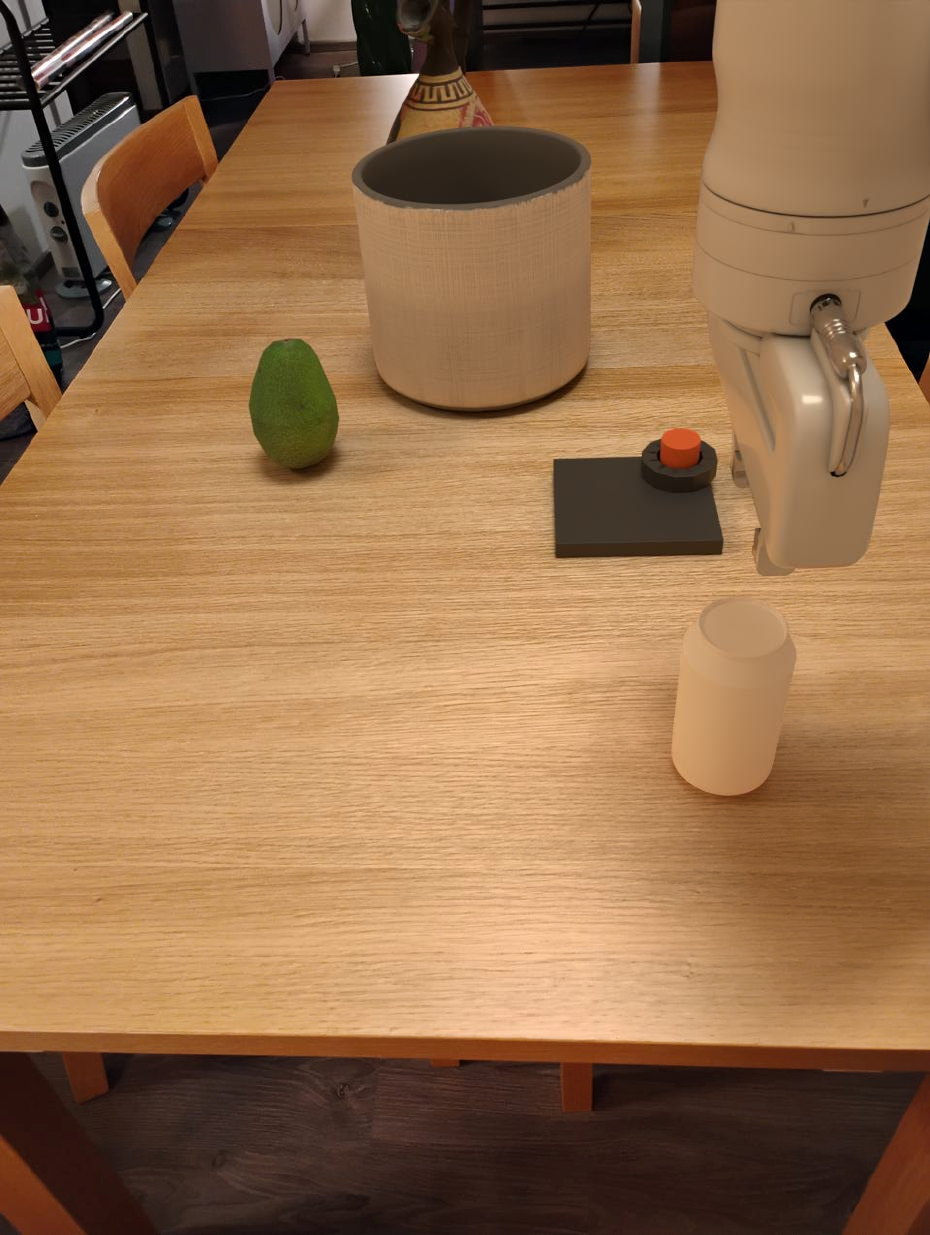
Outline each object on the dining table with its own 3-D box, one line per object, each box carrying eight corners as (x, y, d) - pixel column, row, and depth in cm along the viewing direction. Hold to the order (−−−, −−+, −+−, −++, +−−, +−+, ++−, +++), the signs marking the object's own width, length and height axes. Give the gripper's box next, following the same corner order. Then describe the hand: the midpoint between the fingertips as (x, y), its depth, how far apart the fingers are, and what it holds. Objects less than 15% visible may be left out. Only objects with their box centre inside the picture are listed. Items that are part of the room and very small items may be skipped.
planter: (633, 351, 103) (643, 147, 89) (493, 446, 92) (481, 228, 78) (474, 299, 115) (462, 111, 101) (333, 377, 103) (298, 177, 90)
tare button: (696, 448, 84) (698, 427, 83) (700, 469, 82) (703, 448, 81) (658, 449, 85) (659, 428, 83) (661, 470, 82) (663, 449, 81)
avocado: (363, 457, 92) (344, 337, 84) (295, 495, 88) (268, 373, 80) (310, 428, 96) (287, 310, 88) (243, 463, 92) (213, 343, 84)
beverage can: (650, 752, 64) (662, 614, 56) (725, 713, 66) (748, 574, 58) (713, 820, 60) (736, 681, 52) (792, 776, 62) (826, 636, 54)
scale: (708, 464, 87) (711, 434, 85) (729, 554, 78) (733, 523, 76) (553, 468, 88) (553, 439, 86) (555, 557, 79) (555, 527, 77)
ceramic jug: (470, 280, 119) (450, -12, 98) (365, 259, 125) (327, -18, 105) (538, 228, 129) (533, -46, 109) (438, 212, 135) (416, -49, 115)
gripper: (966, 371, 33) (877, 668, 42) (829, 161, 48) (786, 414, 57) (770, 378, 33) (724, 669, 42) (696, 168, 48) (674, 417, 57)
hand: (759, 521), depth 50 cm, fingers open, 6 cm apart
